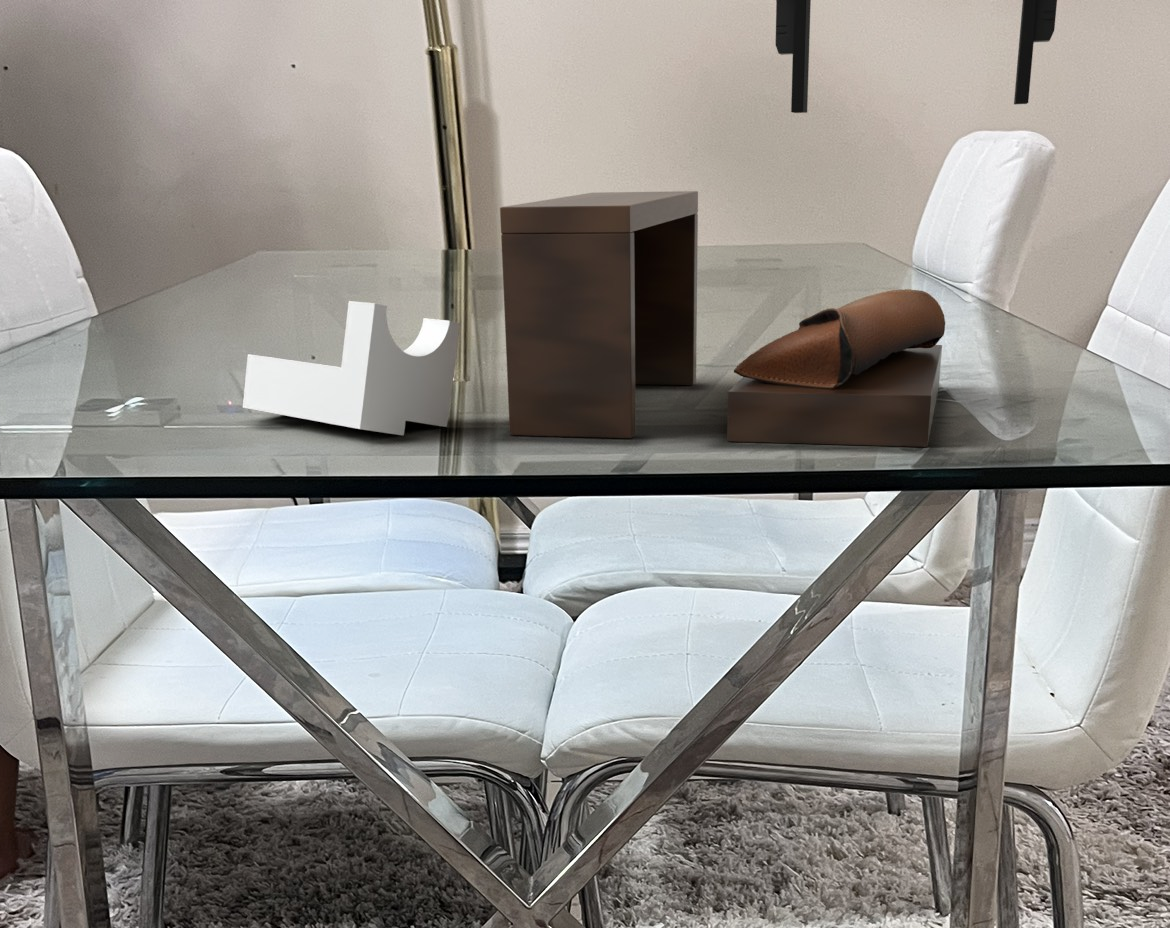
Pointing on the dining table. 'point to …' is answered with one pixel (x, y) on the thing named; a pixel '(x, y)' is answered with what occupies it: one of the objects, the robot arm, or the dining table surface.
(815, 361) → the sunglasses case
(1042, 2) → the robot arm
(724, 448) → the dining table surface
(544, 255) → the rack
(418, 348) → the bracket
